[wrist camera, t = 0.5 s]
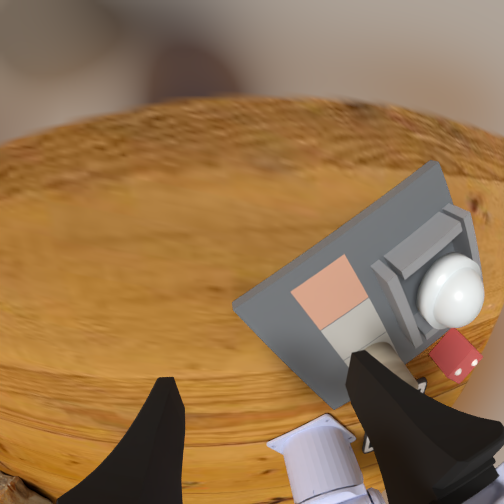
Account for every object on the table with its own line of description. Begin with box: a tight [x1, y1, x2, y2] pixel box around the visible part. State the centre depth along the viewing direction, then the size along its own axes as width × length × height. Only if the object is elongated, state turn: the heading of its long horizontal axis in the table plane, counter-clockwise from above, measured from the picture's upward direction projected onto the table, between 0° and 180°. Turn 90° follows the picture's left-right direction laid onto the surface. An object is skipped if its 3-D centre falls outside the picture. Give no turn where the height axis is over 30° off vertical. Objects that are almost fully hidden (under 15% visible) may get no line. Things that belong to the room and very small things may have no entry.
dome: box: [416, 252, 484, 329], centre depth 17 cm, size 6×6×5 cm
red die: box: [429, 328, 483, 384], centre depth 24 cm, size 4×4×4 cm
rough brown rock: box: [0, 471, 52, 504], centre depth 30 cm, size 23×17×15 cm
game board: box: [232, 160, 484, 410], centre depth 21 cm, size 16×18×4 cm
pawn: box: [364, 342, 419, 390], centre depth 20 cm, size 4×4×7 cm
